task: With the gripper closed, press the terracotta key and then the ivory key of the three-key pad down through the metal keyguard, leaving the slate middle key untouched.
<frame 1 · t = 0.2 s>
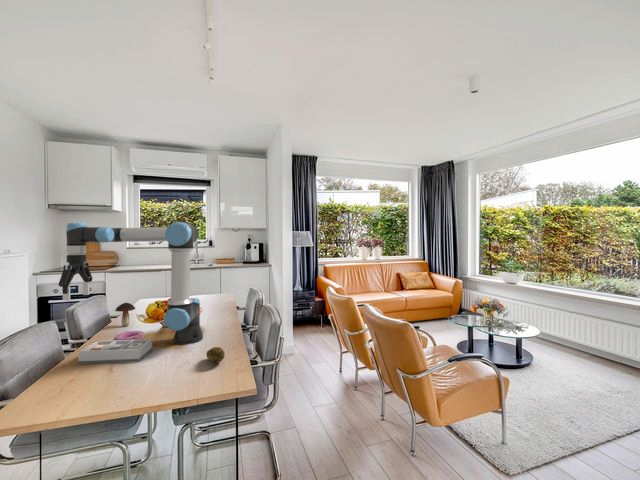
hand: (76, 297, 147), 27 cm above the table, fingers open, 13 cm apart
keypad board: (117, 356, 142), on the table
key ivory: (135, 347, 143), point 4 cm above the table, slide at 0.0 cm
key slate: (117, 348, 142), point 4 cm above the table, slide at 0.0 cm
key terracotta: (99, 348, 141), point 4 cm above the table, slide at 0.0 cm
decorative mushroom: (125, 326, 190), on the table
donut: (129, 343, 161), on the table
green bumpy oval piece: (215, 363, 136), on the table
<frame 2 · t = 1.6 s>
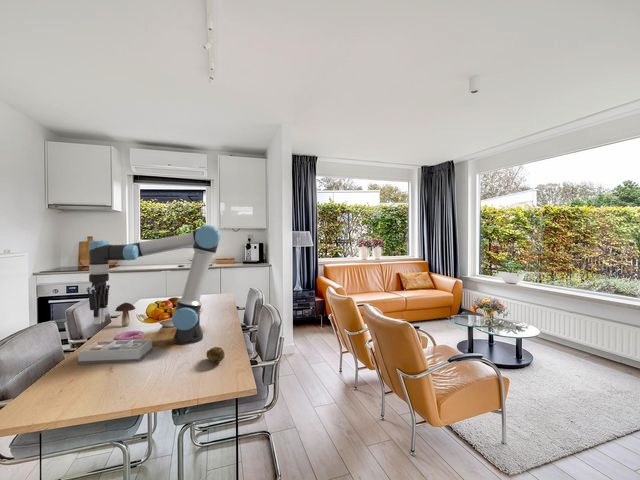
hand: (99, 322, 141), 16 cm above the table, fingers open, 2 cm apart
nothing on the table moved.
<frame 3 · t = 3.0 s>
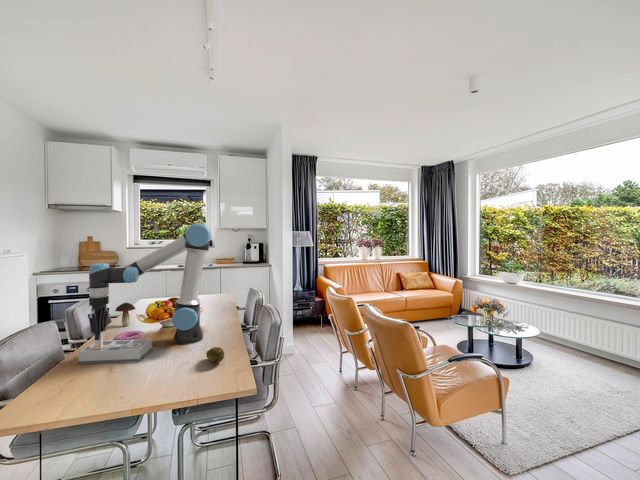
hand: (98, 345, 141), 5 cm above the table, fingers closed
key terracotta: (99, 349, 141), point 4 cm above the table, slide at 0.1 cm, touching gripper
everything else where it was.
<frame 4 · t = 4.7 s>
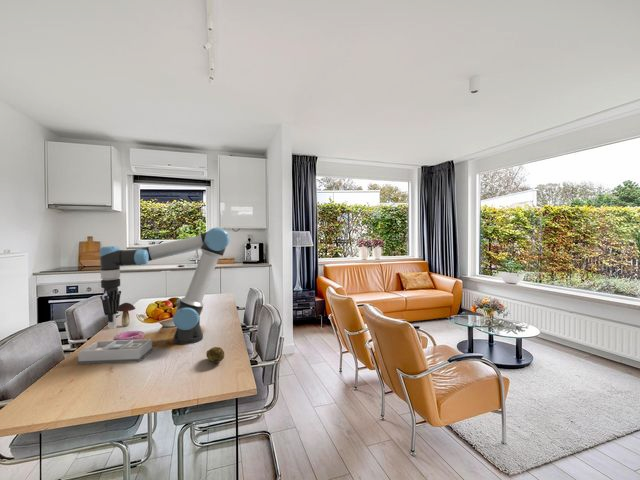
hand: (112, 328, 142), 14 cm above the table, fingers closed
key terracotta: (99, 351, 141), point 3 cm above the table, slide at 1.4 cm
everything else where it was.
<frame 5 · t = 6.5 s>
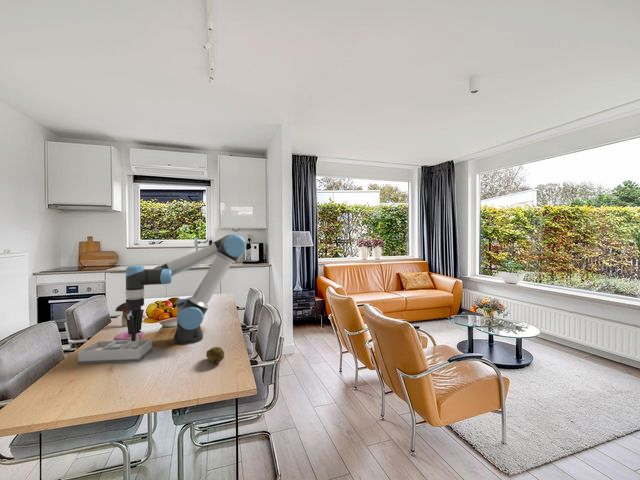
hand: (134, 347, 143), 4 cm above the table, fingers closed
key ivory: (135, 350, 143), point 3 cm above the table, slide at 1.3 cm, touching gripper
everything else where it was.
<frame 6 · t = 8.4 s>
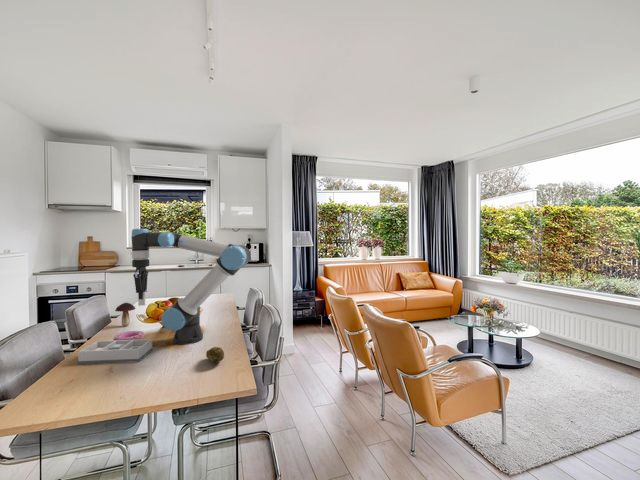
hand: (141, 305, 152), 22 cm above the table, fingers closed
key ivory: (135, 350, 143), point 3 cm above the table, slide at 1.4 cm
everything else where it was.
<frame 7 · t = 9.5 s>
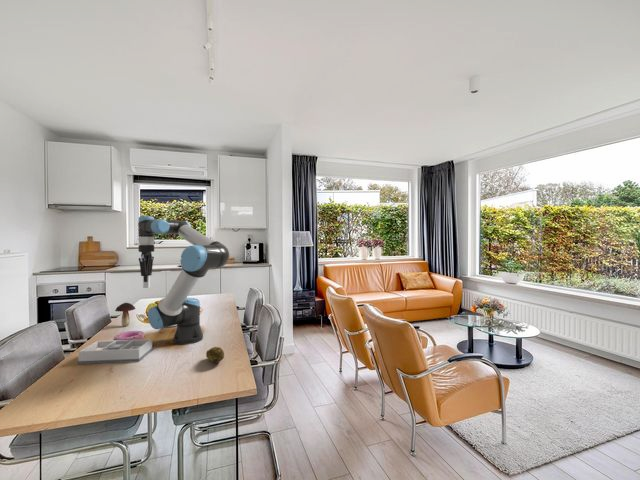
hand: (146, 287, 163), 29 cm above the table, fingers closed
nothing on the table moved.
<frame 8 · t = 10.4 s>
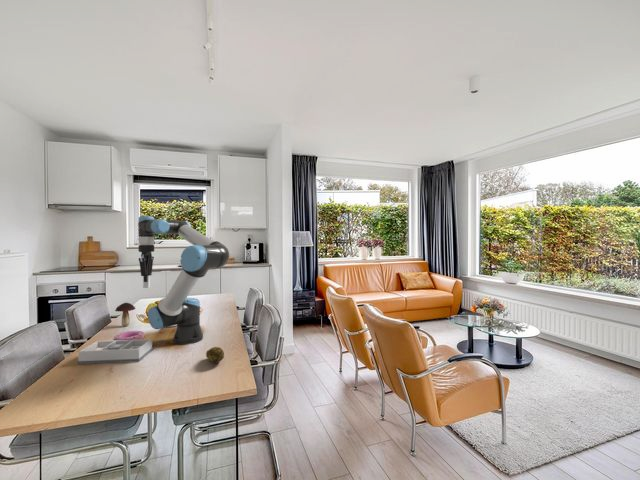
hand: (146, 287, 163), 29 cm above the table, fingers closed
nothing on the table moved.
at the end: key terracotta slide at 1.4 cm; key ivory slide at 1.4 cm; key slate slide at 0.0 cm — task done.
